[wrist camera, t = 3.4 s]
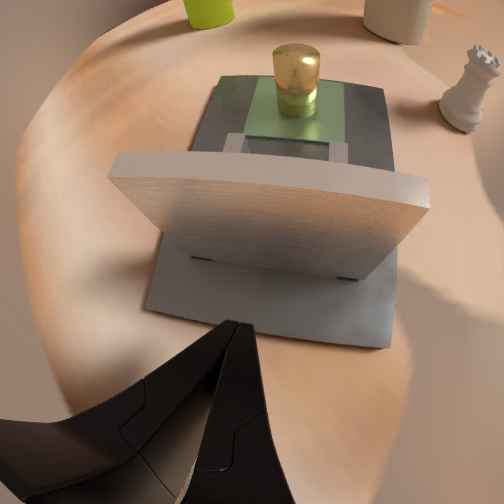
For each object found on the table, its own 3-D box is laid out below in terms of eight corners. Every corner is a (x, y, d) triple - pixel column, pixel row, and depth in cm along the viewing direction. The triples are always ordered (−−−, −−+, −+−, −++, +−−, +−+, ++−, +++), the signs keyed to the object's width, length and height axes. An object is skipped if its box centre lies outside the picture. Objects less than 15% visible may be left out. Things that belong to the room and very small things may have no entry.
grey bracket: (363, 279, 15) (429, 208, 7) (186, 255, 16) (106, 176, 9) (367, 177, 17) (402, 71, 9) (212, 162, 18) (170, 60, 11)
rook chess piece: (439, 124, 19) (470, 55, 11) (434, 94, 20) (458, 31, 13) (479, 142, 18) (517, 81, 11) (472, 110, 19) (501, 53, 12)
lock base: (384, 348, 15) (431, 346, 9) (152, 310, 17) (94, 290, 11) (381, 97, 20) (393, 42, 15) (223, 84, 23) (208, 31, 17)
